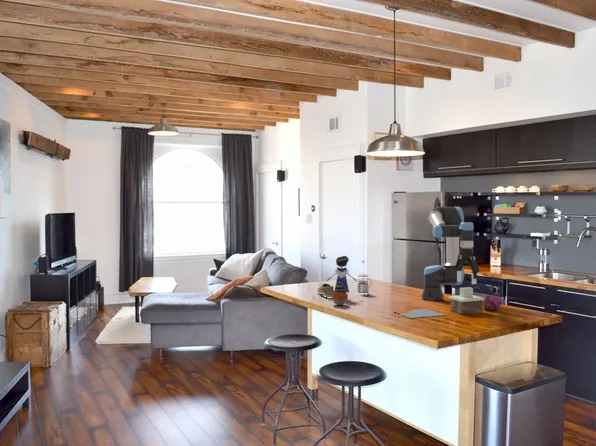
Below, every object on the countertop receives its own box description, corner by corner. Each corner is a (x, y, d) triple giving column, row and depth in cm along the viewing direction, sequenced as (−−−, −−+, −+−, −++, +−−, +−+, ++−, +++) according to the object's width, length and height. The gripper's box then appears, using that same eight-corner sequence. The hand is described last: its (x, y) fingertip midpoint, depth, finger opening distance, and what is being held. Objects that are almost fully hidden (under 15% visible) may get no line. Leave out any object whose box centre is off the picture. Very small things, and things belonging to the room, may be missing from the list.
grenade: (347, 307, 329) (347, 283, 328) (331, 306, 331) (331, 283, 331) (348, 304, 340) (348, 281, 339) (333, 303, 342) (333, 281, 341)
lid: (448, 298, 315) (448, 287, 314) (470, 296, 320) (470, 285, 320) (461, 301, 303) (461, 290, 303) (484, 300, 309) (484, 288, 308)
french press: (360, 292, 386) (360, 259, 385) (374, 294, 379) (374, 260, 379) (354, 294, 378) (354, 260, 377) (368, 296, 371) (368, 261, 370)
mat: (392, 312, 312) (392, 311, 312) (425, 309, 321) (425, 308, 321) (410, 318, 293) (410, 317, 293) (445, 315, 302) (445, 314, 302)
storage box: (450, 311, 314) (450, 298, 314) (470, 309, 320) (470, 297, 319) (461, 314, 304) (461, 301, 304) (482, 313, 309) (482, 300, 309)
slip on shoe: (316, 292, 389) (316, 280, 389) (330, 292, 390) (330, 280, 390) (321, 299, 360) (321, 286, 360) (336, 298, 361) (336, 286, 361)
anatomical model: (487, 311, 313) (510, 307, 315) (483, 295, 316) (506, 291, 317) (479, 312, 325) (501, 308, 326) (475, 297, 327) (497, 293, 329)
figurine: (357, 297, 364) (357, 255, 364) (358, 299, 355) (358, 256, 355) (325, 297, 367) (325, 255, 366) (325, 299, 358) (325, 256, 357)
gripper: (448, 246, 321) (448, 280, 321) (475, 249, 298) (475, 285, 298) (458, 246, 324) (458, 280, 324) (486, 248, 300) (485, 285, 301)
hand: (466, 282), depth 311 cm, fingers open, 13 cm apart
